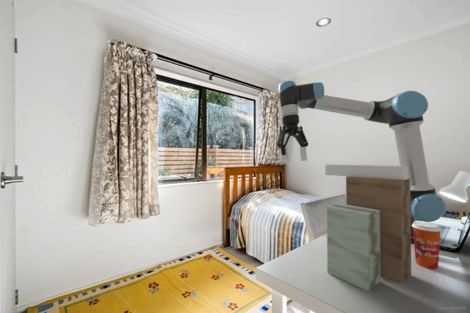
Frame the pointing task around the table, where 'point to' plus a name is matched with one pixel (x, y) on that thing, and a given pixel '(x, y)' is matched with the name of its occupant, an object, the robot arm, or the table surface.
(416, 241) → the paper cup
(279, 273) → the table surface
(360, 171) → the white block
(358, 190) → the wooden boards
